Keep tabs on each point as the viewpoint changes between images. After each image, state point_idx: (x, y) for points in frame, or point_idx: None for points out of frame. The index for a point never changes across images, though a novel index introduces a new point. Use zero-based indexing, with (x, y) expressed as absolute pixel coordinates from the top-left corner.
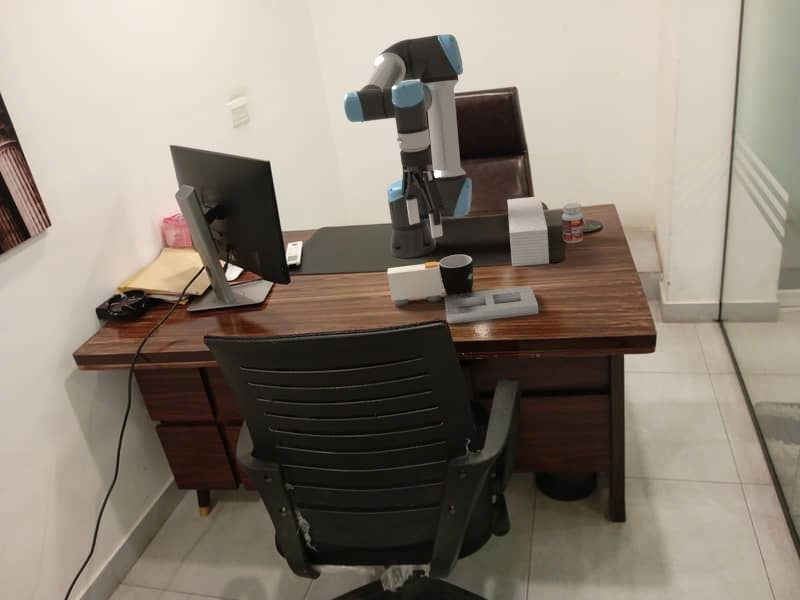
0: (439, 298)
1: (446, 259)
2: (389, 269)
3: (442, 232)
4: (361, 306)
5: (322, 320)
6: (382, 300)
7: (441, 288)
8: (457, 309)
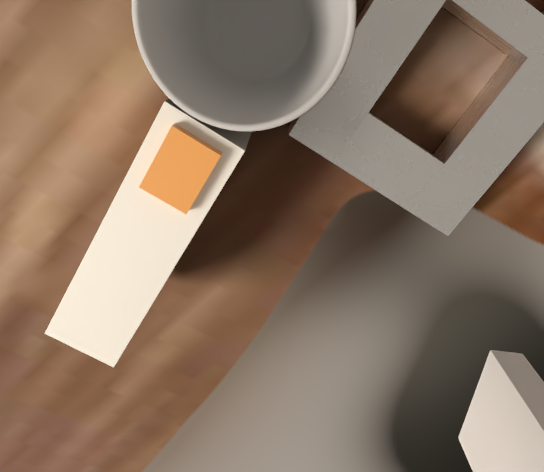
0: None
1: (146, 27)
2: (64, 335)
3: (538, 376)
4: None
5: (97, 462)
6: None
7: None
8: (447, 176)
